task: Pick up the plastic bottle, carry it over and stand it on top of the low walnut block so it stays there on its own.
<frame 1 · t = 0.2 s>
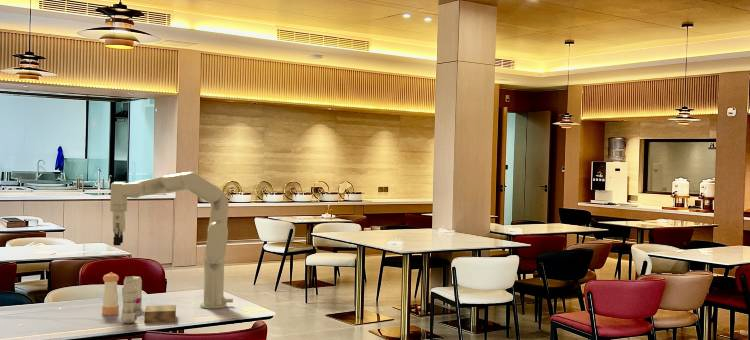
hand: (118, 244, 356), 31 cm above the table, tool pointing down, fingers open, 9 cm apart
plastic bottle: (129, 323, 328), on the table
walnut block: (160, 319, 337), on the table
supplement can: (132, 309, 359), on the table
pepper shaker: (110, 313, 347), on the table
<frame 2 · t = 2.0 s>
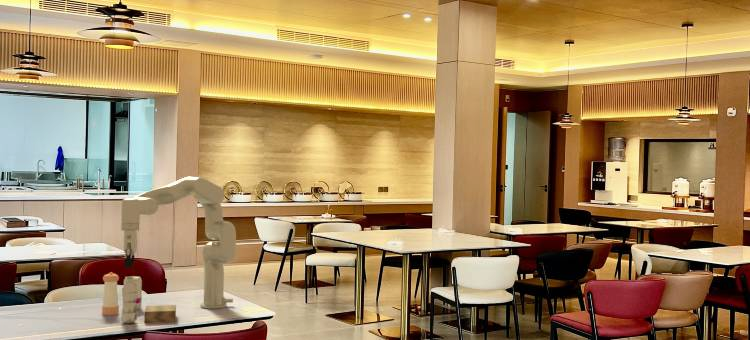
hand: (129, 265, 327), 25 cm above the table, tool pointing down, fingers open, 9 cm apart
nothing on the table moved.
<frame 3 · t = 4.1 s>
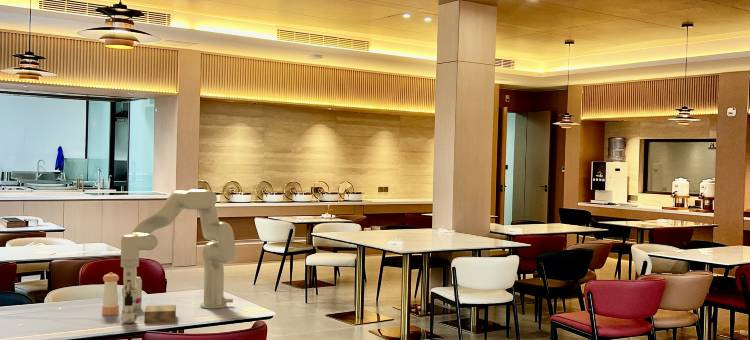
hand: (129, 303, 328), 9 cm above the table, tool pointing down, fingers closed on plastic bottle, 5 cm apart
plastic bottle: (128, 323, 328), on the table, touching gripper
everything else where it was.
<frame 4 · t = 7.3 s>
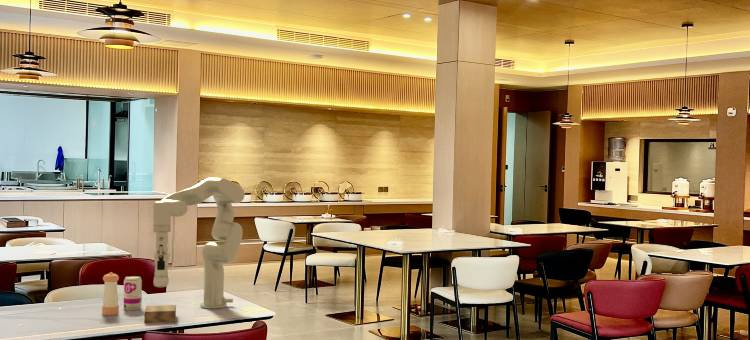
hand: (161, 268, 337), 23 cm above the table, tool pointing down, fingers closed on plastic bottle, 5 cm apart
plastic bottle: (161, 287, 337), point 14 cm above the table, touching gripper
everything else where it was.
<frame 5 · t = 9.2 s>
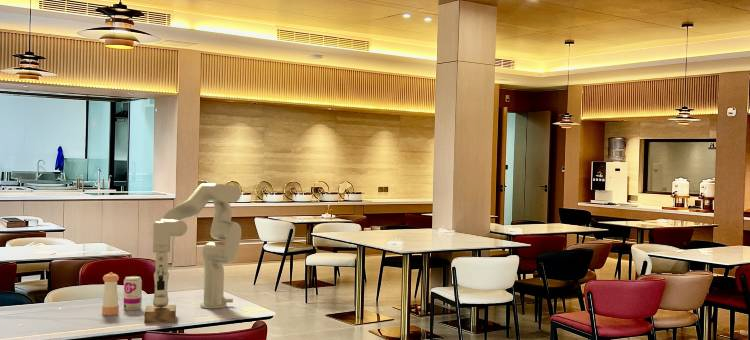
hand: (161, 288, 337), 14 cm above the table, tool pointing down, fingers closed on plastic bottle, 5 cm apart
plastic bottle: (160, 307, 337), point 5 cm above the table, touching gripper
everything else where it was.
when the fingers open (14 cm above the table, at t = 11.0 s): plastic bottle stays where it is, resting on walnut block.
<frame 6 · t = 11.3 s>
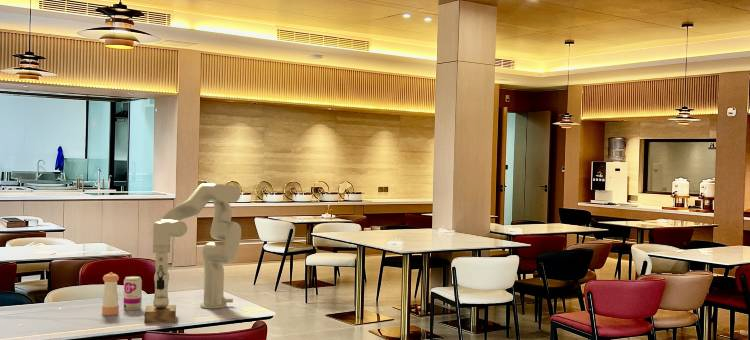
hand: (160, 287, 337), 14 cm above the table, tool pointing down, fingers open, 9 cm apart
plastic bottle: (160, 308, 337), point 5 cm above the table, touching walnut block
everything else where it was.
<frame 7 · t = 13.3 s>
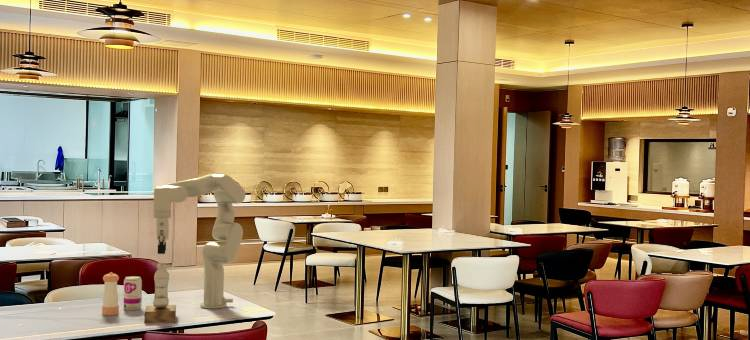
hand: (161, 252, 337), 30 cm above the table, tool pointing down, fingers open, 9 cm apart
nothing on the table moved.
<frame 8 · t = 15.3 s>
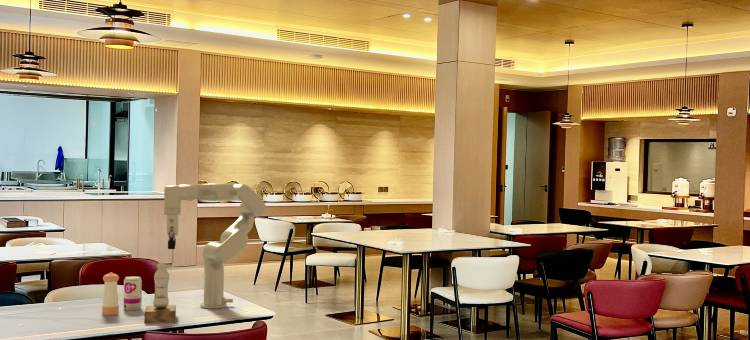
hand: (171, 247, 353), 30 cm above the table, tool pointing down, fingers open, 9 cm apart
nothing on the table moved.
at the end: plastic bottle inside the target area on the walnut block (0.2 cm from its centre), point 4.8 cm above the walnut block's base; plastic bottle tilted 0°; the gripper is holding nothing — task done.
